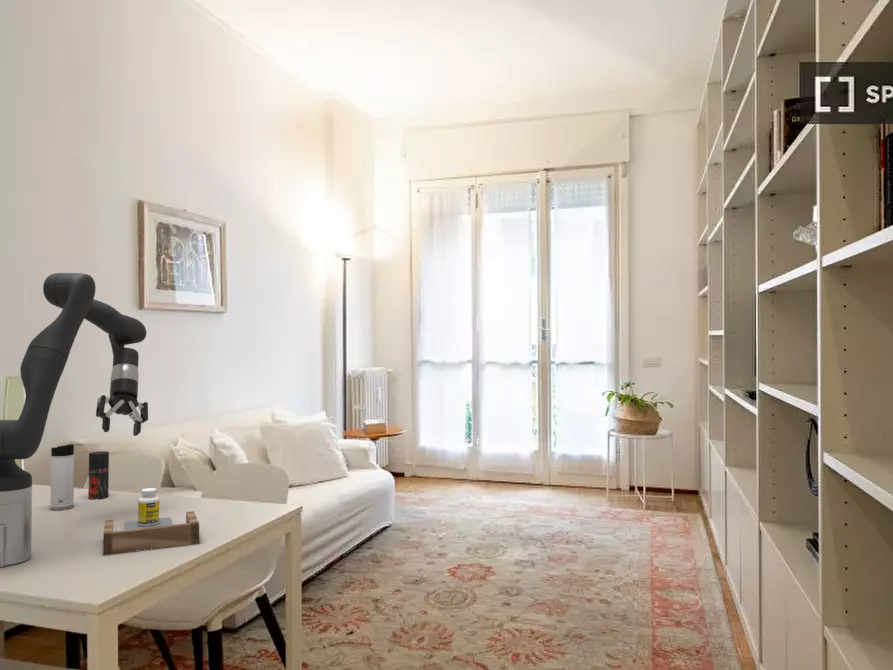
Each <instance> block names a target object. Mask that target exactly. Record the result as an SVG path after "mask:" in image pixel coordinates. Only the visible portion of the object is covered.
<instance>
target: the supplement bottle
mask: <svg viewBox="0 0 893 670" xmlns="http://www.w3.org/2000/svg"><path fill="white" fill-rule="evenodd" d="M157 490H158V489H157V488H156V487H155V488H154V487H148V488H142V489H141V492H140V493H141V497H139V499H138V505H137V507H138V509H137V510H138V511H137V513H138V514H137V520H138V525H140V526H152V525H156V524H158V523H159V518H160V497H158V496H157V494H158V491H157Z"/></svg>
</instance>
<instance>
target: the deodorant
mask: <svg viewBox="0 0 893 670" xmlns="http://www.w3.org/2000/svg"><path fill="white" fill-rule="evenodd" d="M109 468H110V452H109V451H108V450H107V451H104V450H102V451H101V450H100V451H99V450H98V451H91V452H89V453H88V494H87V496H88V500H91V499H92V500H91V501H93V500H95V499H98V500H104V499H108V498H109V481H110V480H109V479H110V477H109V475H110V469H109Z"/></svg>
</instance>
